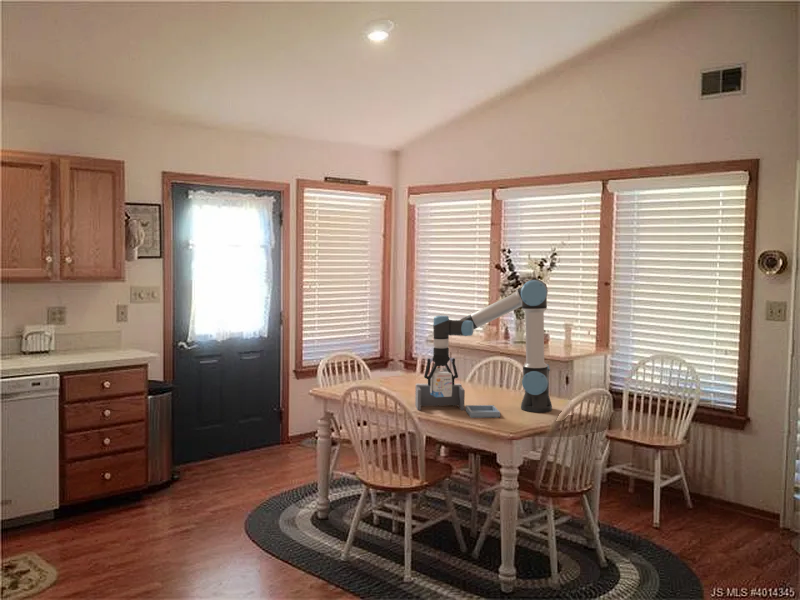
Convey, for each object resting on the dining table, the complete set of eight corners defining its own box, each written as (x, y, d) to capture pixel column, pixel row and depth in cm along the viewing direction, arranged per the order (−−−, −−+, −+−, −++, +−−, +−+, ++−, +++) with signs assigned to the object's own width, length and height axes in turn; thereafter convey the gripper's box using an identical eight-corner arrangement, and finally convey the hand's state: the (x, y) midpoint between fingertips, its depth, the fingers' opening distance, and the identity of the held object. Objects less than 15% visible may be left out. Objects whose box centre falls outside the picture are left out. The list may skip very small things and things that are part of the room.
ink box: (435, 397, 347) (435, 370, 346) (430, 394, 355) (430, 367, 354) (452, 396, 349) (452, 369, 348) (446, 393, 357) (446, 366, 356)
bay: (460, 404, 362) (460, 383, 361) (464, 410, 349) (464, 388, 348) (415, 404, 360) (415, 383, 360) (417, 410, 348) (417, 388, 347)
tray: (493, 410, 350) (493, 405, 350) (500, 417, 335) (500, 412, 335) (465, 410, 349) (465, 405, 349) (470, 417, 334) (470, 412, 334)
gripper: (461, 345, 355) (461, 390, 356) (418, 346, 353) (418, 391, 355) (464, 347, 347) (464, 393, 349) (419, 348, 346) (419, 394, 347)
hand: (441, 392), depth 352 cm, fingers closed on ink box, 9 cm apart
